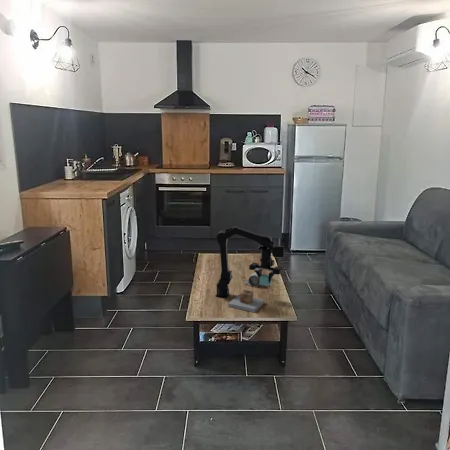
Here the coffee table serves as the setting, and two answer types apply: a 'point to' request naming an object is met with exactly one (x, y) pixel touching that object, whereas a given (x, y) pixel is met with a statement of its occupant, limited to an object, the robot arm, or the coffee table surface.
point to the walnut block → (246, 296)
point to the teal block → (264, 280)
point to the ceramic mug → (253, 280)
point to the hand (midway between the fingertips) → (265, 282)
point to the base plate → (247, 307)
